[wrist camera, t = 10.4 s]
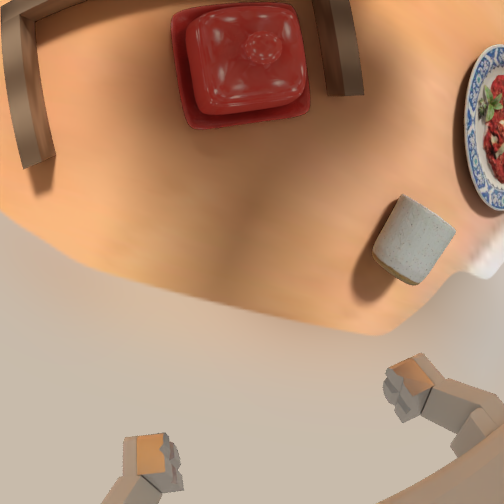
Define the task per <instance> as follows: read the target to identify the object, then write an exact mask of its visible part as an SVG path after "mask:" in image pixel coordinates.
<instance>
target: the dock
mask: <svg viewBox="0 0 504 504" xmlns="http://www.w3.org/2000/svg"><path fill="white" fill-rule="evenodd" d="M84 1H87V0H12V1H10V2H8V3H6V4H5V5H3V6H1V39H2V54H3V64H4V73H5V81H6V89H7V95H8V101H9V107H10V113H11V118H12V123H13V128H14V133H15V137H16V142H17V146H18V150H19V154H20V158H21V162H22V166H23V169H25V168H28V167H30V166H32V165H35V164H37V163H40V162H42V161H44V160H47V159H49V158H51V157H53V156H55V155H56V153H55V149H54V144H53V140H52V136H51V132H50V127H49V122H48V118H47V113H46V107H45V102H44V97H43V91H42V85H41V78H40V71H39V64H38V56H37V47H36V36H35V23H34V22H36V21H38V20H40V19H42V18H44V17H47V16H49V15H51V14H53V13H56V12H58V11H61V10H63V9H65V8H68V7H71V6H73V5H76V4H78V3H81V2H84ZM312 3H313V8H314V13H315V18H316V24H317V29H318V35H319V40H320V46H321V53H322V59H323V65H324V72H325V79H326V86H327V94H328V96H354V95H364V88H363V80H362V72H361V65H360V58H359V51H358V45H357V39H356V33H355V28H354V22H353V17H352V12H351V7H350V2H349V0H312Z"/></svg>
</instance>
